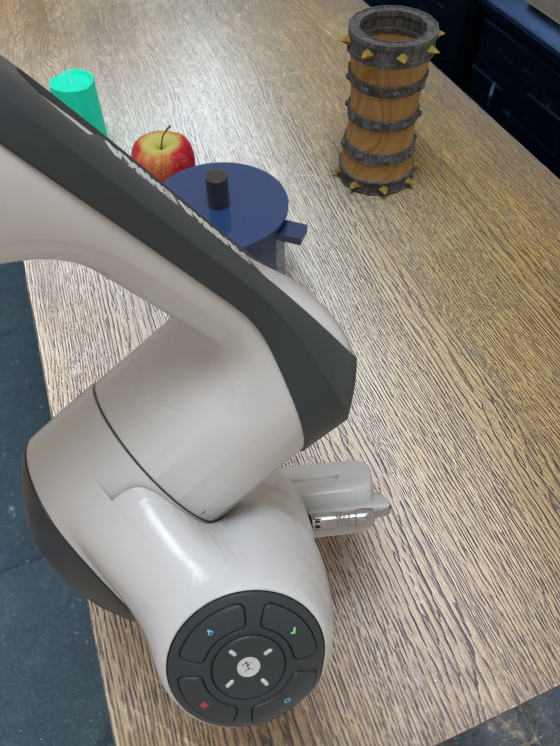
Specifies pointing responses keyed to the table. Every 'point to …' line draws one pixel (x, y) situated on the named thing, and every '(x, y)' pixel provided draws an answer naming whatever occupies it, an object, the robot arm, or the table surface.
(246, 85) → the table surface
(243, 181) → the pot lid
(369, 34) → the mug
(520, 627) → the table surface
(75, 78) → the candle
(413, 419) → the table surface
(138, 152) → the apple
